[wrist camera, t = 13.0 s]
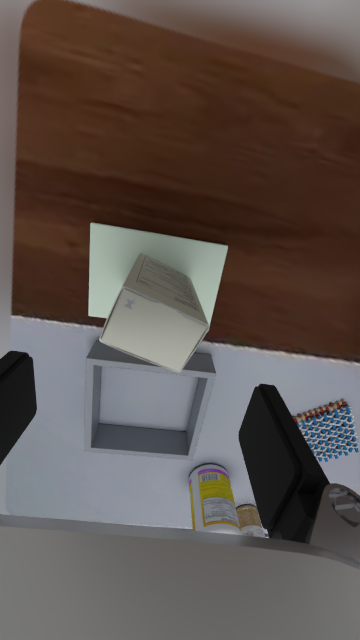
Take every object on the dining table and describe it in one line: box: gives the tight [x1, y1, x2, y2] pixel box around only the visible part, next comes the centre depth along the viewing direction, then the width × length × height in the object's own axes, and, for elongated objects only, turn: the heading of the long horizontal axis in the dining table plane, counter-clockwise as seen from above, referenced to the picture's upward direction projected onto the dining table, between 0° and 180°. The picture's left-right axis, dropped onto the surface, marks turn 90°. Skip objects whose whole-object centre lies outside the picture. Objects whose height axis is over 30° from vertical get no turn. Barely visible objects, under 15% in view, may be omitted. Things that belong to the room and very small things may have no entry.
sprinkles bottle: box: [236, 505, 265, 538], centre depth 40 cm, size 5×5×14 cm
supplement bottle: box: [189, 464, 242, 535], centre depth 36 cm, size 7×7×13 cm
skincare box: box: [99, 253, 209, 373], centre depth 21 cm, size 6×4×12 cm
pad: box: [89, 222, 228, 326], centre depth 27 cm, size 14×10×1 cm
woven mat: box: [293, 400, 359, 462], centre depth 38 cm, size 10×11×2 cm
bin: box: [84, 341, 216, 460], centre depth 32 cm, size 15×15×4 cm
